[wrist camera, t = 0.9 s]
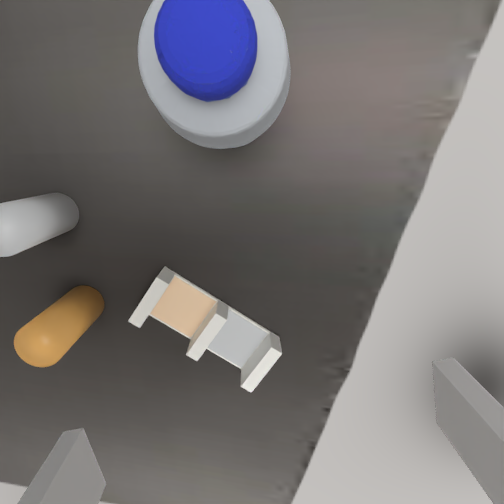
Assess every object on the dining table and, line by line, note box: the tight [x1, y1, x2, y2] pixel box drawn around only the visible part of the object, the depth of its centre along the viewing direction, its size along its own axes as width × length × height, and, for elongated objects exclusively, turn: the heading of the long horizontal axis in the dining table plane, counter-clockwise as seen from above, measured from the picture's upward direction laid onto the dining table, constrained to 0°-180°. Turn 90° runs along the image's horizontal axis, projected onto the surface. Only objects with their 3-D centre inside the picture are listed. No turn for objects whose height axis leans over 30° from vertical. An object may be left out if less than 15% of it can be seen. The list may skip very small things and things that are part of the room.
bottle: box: [138, 0, 290, 149], centre depth 20 cm, size 7×7×20 cm
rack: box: [128, 266, 282, 393], centre depth 34 cm, size 13×5×3 cm, turn 56°
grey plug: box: [0, 193, 79, 257], centre depth 28 cm, size 4×4×8 cm
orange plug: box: [14, 285, 104, 367], centre depth 30 cm, size 4×4×8 cm
